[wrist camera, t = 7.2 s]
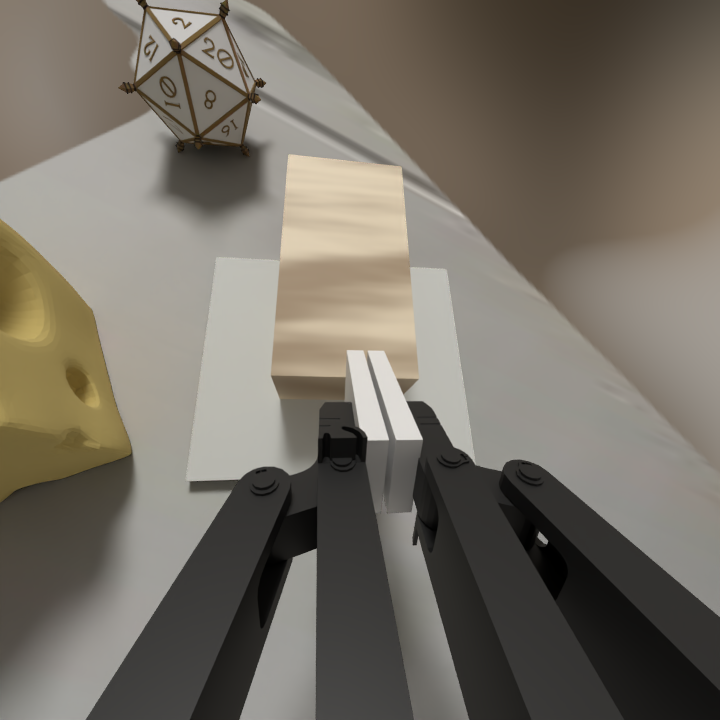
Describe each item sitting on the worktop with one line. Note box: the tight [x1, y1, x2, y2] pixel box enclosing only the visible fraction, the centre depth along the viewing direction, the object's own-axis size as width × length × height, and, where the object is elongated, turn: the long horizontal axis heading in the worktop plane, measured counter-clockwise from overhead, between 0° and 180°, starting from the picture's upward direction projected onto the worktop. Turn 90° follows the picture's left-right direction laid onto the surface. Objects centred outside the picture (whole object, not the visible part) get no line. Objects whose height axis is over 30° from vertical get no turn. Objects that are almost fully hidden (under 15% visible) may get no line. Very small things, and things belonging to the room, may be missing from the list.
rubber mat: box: [186, 257, 476, 481], centre depth 21 cm, size 14×16×1 cm
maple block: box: [271, 154, 419, 400], centre depth 20 cm, size 4×7×14 cm
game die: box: [119, 0, 266, 156], centre depth 23 cm, size 9×8×10 cm
